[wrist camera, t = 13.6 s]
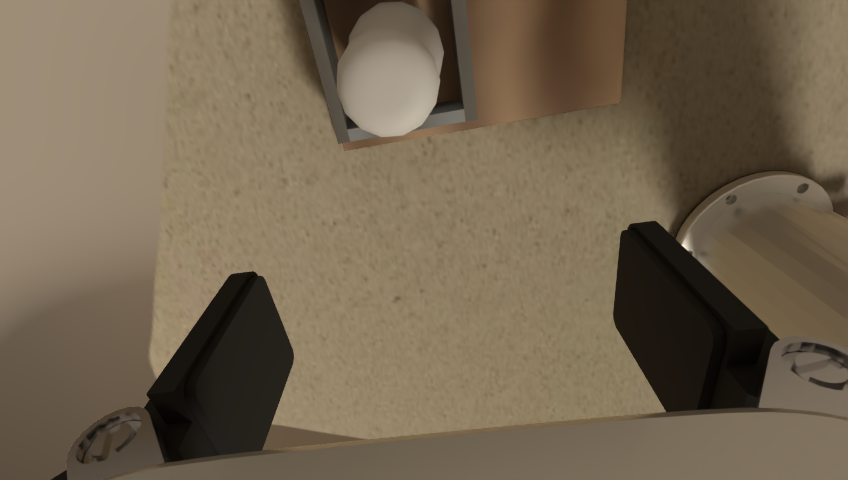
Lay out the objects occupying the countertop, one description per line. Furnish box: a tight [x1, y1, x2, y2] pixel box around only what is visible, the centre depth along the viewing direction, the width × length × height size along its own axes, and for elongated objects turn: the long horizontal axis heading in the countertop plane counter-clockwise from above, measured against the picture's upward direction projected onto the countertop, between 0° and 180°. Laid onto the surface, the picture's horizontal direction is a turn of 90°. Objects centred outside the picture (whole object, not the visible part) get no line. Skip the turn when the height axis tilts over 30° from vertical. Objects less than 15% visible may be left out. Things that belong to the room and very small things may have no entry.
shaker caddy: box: [299, 0, 627, 151], centre depth 27 cm, size 20×12×4 cm, turn 99°
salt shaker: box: [337, 2, 444, 137], centre depth 22 cm, size 6×6×13 cm
